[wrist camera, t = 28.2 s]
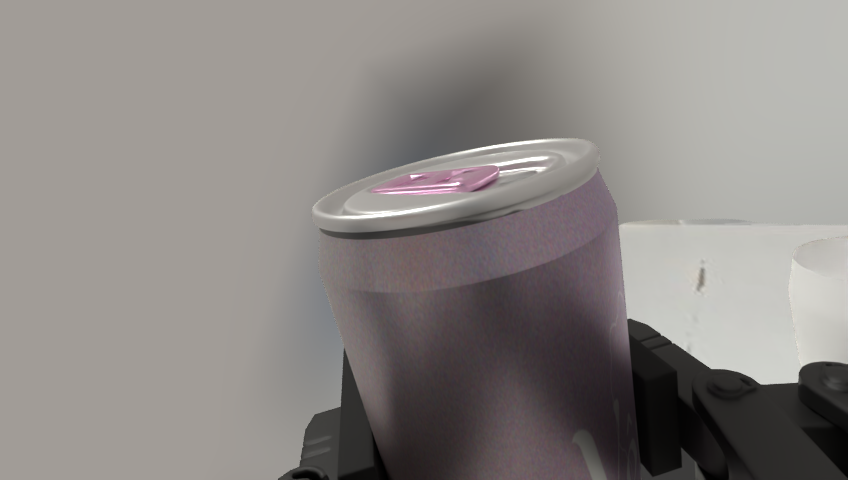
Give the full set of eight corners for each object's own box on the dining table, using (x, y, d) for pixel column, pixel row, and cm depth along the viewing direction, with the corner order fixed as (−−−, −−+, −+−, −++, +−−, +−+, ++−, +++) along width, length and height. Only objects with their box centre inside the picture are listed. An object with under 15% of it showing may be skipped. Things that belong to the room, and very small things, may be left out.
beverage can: (508, 520, 17) (425, 153, 12) (679, 609, 13) (648, 120, 9) (416, 687, 13) (240, 222, 8) (628, 890, 9) (513, 219, 4)
